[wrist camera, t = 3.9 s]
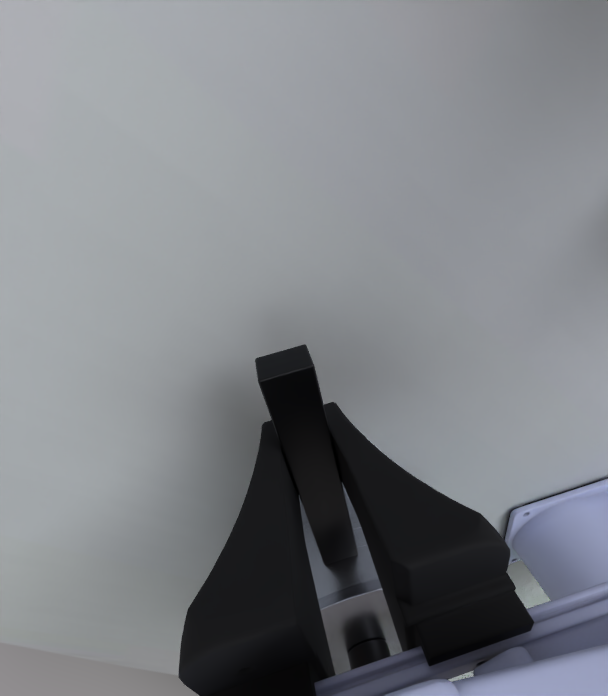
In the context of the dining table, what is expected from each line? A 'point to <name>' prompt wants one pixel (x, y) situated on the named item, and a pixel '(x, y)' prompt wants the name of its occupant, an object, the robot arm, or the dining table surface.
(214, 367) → the dining table surface
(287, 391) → the saucepan
